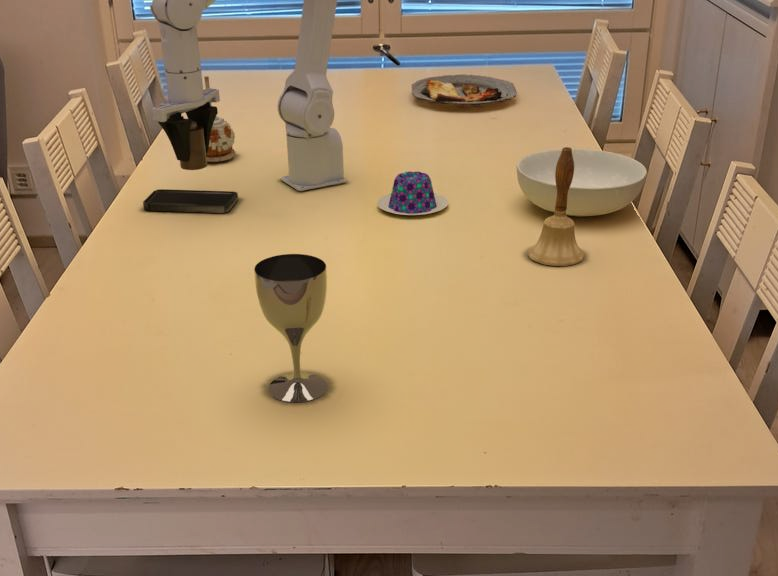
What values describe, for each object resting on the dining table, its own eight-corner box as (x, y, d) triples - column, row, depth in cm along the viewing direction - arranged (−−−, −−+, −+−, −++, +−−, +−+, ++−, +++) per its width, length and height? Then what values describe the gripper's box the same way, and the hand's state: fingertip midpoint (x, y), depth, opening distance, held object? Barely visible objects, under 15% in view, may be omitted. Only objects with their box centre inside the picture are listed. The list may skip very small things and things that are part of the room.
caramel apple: (209, 167, 193) (200, 83, 184) (186, 158, 198) (177, 76, 189) (243, 158, 197) (235, 76, 188) (220, 150, 202) (212, 69, 193)
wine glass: (264, 373, 124) (254, 255, 116) (329, 370, 125) (324, 252, 116) (264, 406, 118) (253, 283, 109) (333, 402, 118) (328, 279, 110)
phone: (155, 189, 179) (239, 191, 177) (156, 195, 179) (239, 197, 177) (140, 204, 172) (227, 206, 170) (141, 210, 173) (227, 213, 171)
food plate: (521, 112, 221) (522, 95, 219) (413, 114, 221) (413, 97, 219) (509, 84, 241) (510, 68, 239) (410, 86, 242) (410, 70, 240)
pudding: (362, 208, 172) (361, 177, 169) (408, 190, 179) (409, 160, 176) (416, 224, 165) (416, 192, 162) (462, 205, 172) (463, 174, 169)
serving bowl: (564, 239, 159) (568, 195, 155) (490, 200, 174) (492, 159, 170) (668, 215, 166) (674, 173, 163) (588, 180, 182) (592, 141, 178)
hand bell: (587, 248, 155) (599, 142, 146) (578, 269, 149) (590, 158, 140) (533, 243, 158) (541, 137, 149) (522, 263, 151) (530, 154, 142)
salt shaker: (201, 160, 173) (196, 117, 169) (211, 167, 170) (206, 124, 166) (176, 164, 171) (171, 121, 167) (186, 171, 168) (181, 128, 164)
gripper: (192, 58, 169) (201, 141, 176) (132, 76, 158) (145, 164, 166) (226, 62, 165) (234, 147, 173) (168, 81, 155) (179, 170, 163)
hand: (192, 156), depth 169 cm, fingers closed on salt shaker, 4 cm apart
